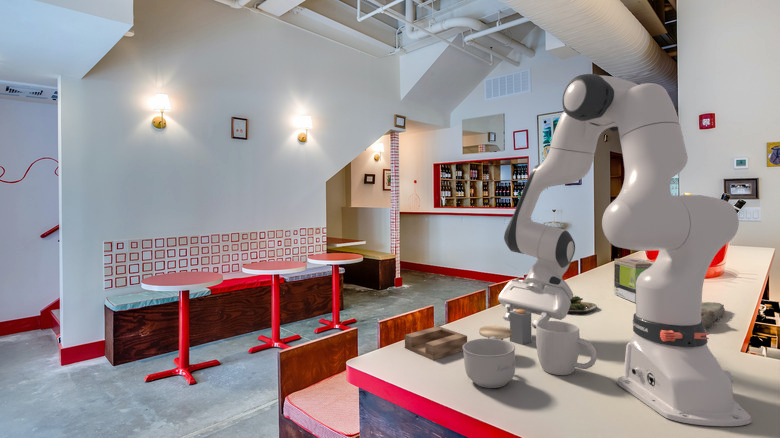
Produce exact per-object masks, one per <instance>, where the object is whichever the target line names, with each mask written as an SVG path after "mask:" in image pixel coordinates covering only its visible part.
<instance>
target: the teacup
mask: <svg viewBox="0 0 780 438" xmlns="http://www.w3.org/2000/svg"><path fill="white" fill-rule="evenodd" d="M515 350H516V347H515V345H514V344H513V342H511V341H508V340H505V339H503V340H501V339H497V338H496V337H493V336H492V337H490V338H487V337H484V338H476V339H471V340H469V341H467V342H466V343H465V344H464V345H463V351H462V352H463V361H464V369H465V373H466V376H467V377H468V378H469V380H471V381H472V382H474V384H476V385H477V386H479V387H482V388H487V389H498V388H502V387H504V386H505V385H507V384H508V383H509V382H510V381H512V379H513V378H514V376H515V373H516V354H515V353H516V352H515Z"/></svg>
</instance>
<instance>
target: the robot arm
mask: <svg viewBox="0 0 780 438" xmlns="http://www.w3.org/2000/svg"><path fill="white" fill-rule="evenodd" d="M562 108H563V112H562V113H561V115H560V117H559V118H558V121H557V124H556V126H555V128H554V132H553V136H552V139H551V141H550V147H549V151H548V152H547V154H546V157H545V159H544V160H543V161H542V162H541V163H540V164H536V165H535V166H534V167H533V168H532V170H531V172H530V174H529V176H528V178H527V180H526V183H525V185H524V187H523V188H522V189H523V190H522V193H521V195H520V197H519V200H518V203H517V205H516V208H515V210H514V213H513V215H512V217H511V219H510V221H509V223H508V225H507V226H506V228H505V231H504V234H503V235H504V236H503V240H504V243H505V245H506V246H507V248H508V249H509V251H510V252H513V253H518V254H522V255H526V256H530V257H534V258H536V262H535V263H534V264H533V265H532V266H531V267H530V270H529V271H528V274H526V277H525V279H518V278H514V279H512V280H509V281H508V282H507V284H506V285H505V286H504V287H503V289H502V290H501V292H500V293H499V294H498V296H497V299H498V302H499V303H500V305H501V306H503V307H504V312H505V313H504V314H503V317H502V318H503V320H504V321H506V322H510V312H513V311H514V310H517V309H523V310H525V311H526V312H530V313H531V314H534V315H537V316H540V317H539V318H538V319H534V320H533V322H532V323H531V327H532V328H533V329H535V330H536V326H537V324H538V323H540V322H543V321H550V319H555V320H557V321H558V320H559V321H561V320H562V321H563V320H564V319H565V318H566V317H567V315H568V314H567V313H568V311H569V308H570V305H571V301H570V299H572V297H574V293H573V291H572V289H571V287H570V286H569V284H568V283H567V282H566V281H565V279H563V276H564V274H565V273H566V272H567V271H568V269H569V267H570V265H571V261H572V259H573V257H574V256H575V252H576V244H575V240H574V238H573V236H572V234H571V233H570V232H569V231H568V230H565V229H564V228H559V227H557V226H553V225H547V224H544V223H539V222H535V221H533V220H532V219H531V218H532V215H533V212H534V210H535V207H536V205H537V202H538V201H539V200H538V199H539V197H540V196H541V194H542V192H543V191H545V190H546V189H548V188H551V187H556V186H563V185H567V184H573V183H575V182H578V181H580V180H581V179H583V178H585V177H586V176H587V174H588V173H589V171H590V170H591V167H592V164H593V162H594V158H595V154H596V150H597V146H598V145H597V144H598V140H599V138H600V136H601V134H602V133H603V132H604V131H605V130H607V129H609V130H610V131H611V132H618V135H619V141H620V142H619V143H620V146H621V152H622V159H623V160H622V161H623V167H624V177H623V178H624V180H623V184H622V186H621V189H620V192H619V194H618V195H617V196H616V198H615V199H613V200H612V202H611V203H610V204H609V205H608V206H607V207H606V209H605V210H604V213H603V214H602V215H603V216H602V220H601V228H602V231H603V234H604V236H605V238H606V239H607V241H608V242H609V243H610V245H613V246H614V247H616V248H622V249H626V250H631V251H637V252H641V251H642V252H643V251H647V252H648V251H649V252H651V251H658V255H657V256H656V259H655V261H653V262H654V263H653V264H652V265H651V266H650V267H649V268H648V269H646V270H645V271H643V272H642V273H641V274H640V275H639V276H638V278H637V281H636V303H635V313H634V314H633V317H632V318H633V319H632V331H633V333H634V335H633V337H632V338H631V339H630V340H629V342H627V344H626V345H625V356H624V357H625V359H624V369H623V375H622V376H619V377H618V378H617V381H616V383H617V385H618V386H620V387H621V388H622V389H624V390H626V391H627V392H628V393H629V394H631V395H632V396H633V397H635V398H637V399H638V400H640V401H641V402H642V403H644V404H645V405H647V406H648V407H649V408H651V409H652V410H654V411H656V412H657V413H658V414H660V415H661V416H663V417H664V418H666V419H668V420H671V421H676V422H679V423H685V424H691V425H699V426H706V427H707V426H708V427H709V426H710V427H740V426H744V425H745V426H746V425H749V424H751V423H752V422H753V421H752V416H751V415H750V414H749V413H748V412H747V410H745V408H743V407H742V406H741V405H740V404H739V403H738V402H737V401H736V400H735V398H734V391H733V385H732V383H733V380H734V379H733V375H732V373H731V371H729V370H724V369H723V368H722V366H721V365H720V363H719V361H718V360H717V358H716V357H715V356H714V354H713V353H712V352H711V350H710V348H709V346H708V340H709V339H710V338H709V337H707V336H709V334H710V333H708V332H707V330H706V329H705V328H704V324H703V322H702V321H701V305H702V303H703V289H704V288H703V287H704V283H705V279H706V276H707V272H708V270H709V267H710V266H711V264H712V262H713V260H714V259H715V256H716V255H717V254H718V252H719V251H721V249H722V248H723V247H725V246H726V244H728V243H730V242H731V241H732V240H733V238H735V236H736V234H737V232H738V231H739V226H740V224H739V223H740V222H739V221H740V220H739V215H738V212H737V210H736V209H735V207H734V205H732V204H731V203H730V202H729V201H727V200H724V199H722V198H721V199H720V198H717V197H714V196H713V197H712V196H707V195H702V194H701V195H700V194H691V195H690V194H689V195H687V194H686V195H685V194H684V195H683V194H681V195H680V194H679V195H678V194H677V195H673V194H672V192H671V182H672V179H673V178H675V176H677V175H678V174H680V173H681V172H682V170H684V169H685V167H686V166H687V163H688V153H687V149H686V144H685V141H684V136H683V131H682V128H681V123H680V119H679V117H678V113H677V111H676V108H675V105H674V103H673V100H672V98H671V97H670V95H669V92H668V91H667V89H666V88H664V86H663V85H661V84H657V83H651V82H647V83H639V82H633V81H631V80H627V79H624V78H620V77H616V76H610V75H609V76H608V75H600V74H596V73H586V74H584V73H583V74H579V75H576V76H575V77H573V78H572V79H571V80H570V81H569V82H568V84H567V85H566V87H565V89H564V92H563V94H562Z"/></svg>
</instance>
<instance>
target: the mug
mask: <svg viewBox="0 0 780 438" xmlns="http://www.w3.org/2000/svg"><path fill="white" fill-rule="evenodd" d="M535 340H536V341H535V343H536V351H537V358H538V363H539V365H540V367H541V368H542V370H543V371H544V372H546V373H548V374H551V375H555V376H556V375H557V376H568V375H571V374H573V373H574V371H575V369H576V368H577V369H581V370H588V369H590V368H593V366H594V365H595V364H596V362H597V358H598V355H597V350H596V348H595V347H594V345H593V344H592V343H591V342H590V341H589V340H587V339H584V338H580V328H579V327H578V326H577V325H575V324H572V323H569V322H566V321H565V322H564V321H561V320H559V321H558V320H549V321H543V322H540V323H538V324H537V326H536V329H535ZM580 344H581V345H583V346H584V347H586V348H587V350H588V351H589V352H590V360H589V361H588V362H584V363H582V362H578V360H579V353H580Z"/></svg>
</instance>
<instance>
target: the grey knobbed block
mask: <svg viewBox="0 0 780 438" xmlns="http://www.w3.org/2000/svg"><path fill="white" fill-rule="evenodd" d="M509 329H511V330H512V336H511V337H509V342H510V343H514V344H518V345H521V346H523V345H526V344H529V343H532V313H530V312H526V311H525V310H523V309H515V310H513V311H510V321H509Z"/></svg>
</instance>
